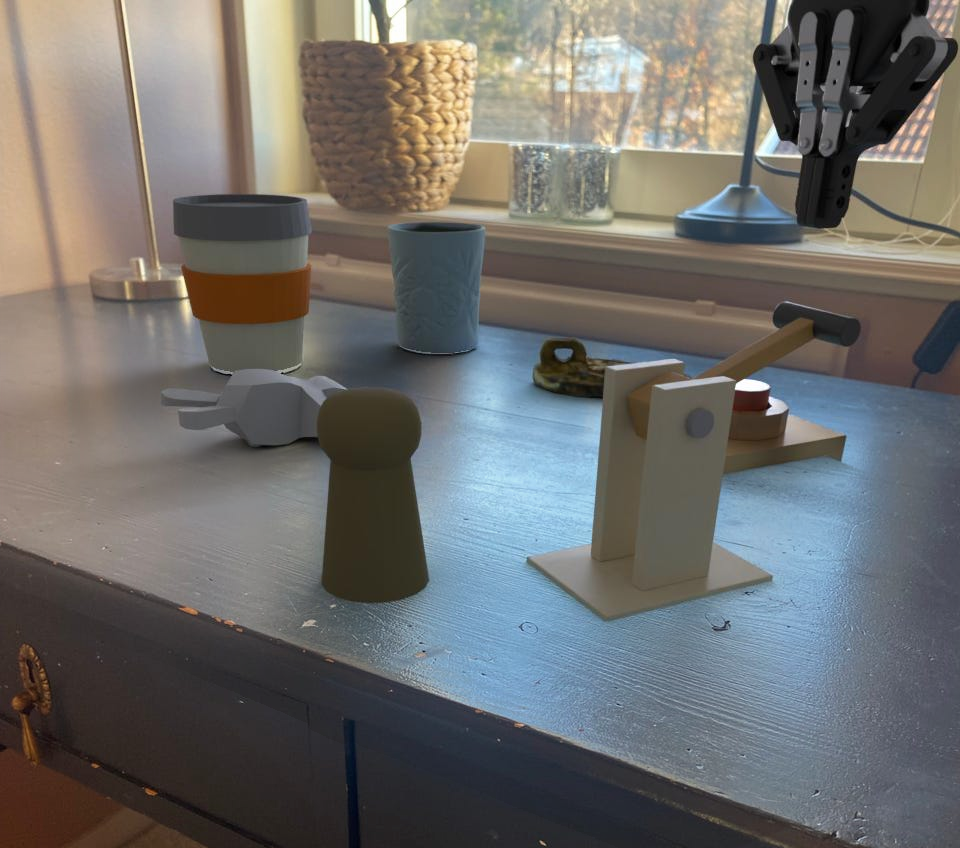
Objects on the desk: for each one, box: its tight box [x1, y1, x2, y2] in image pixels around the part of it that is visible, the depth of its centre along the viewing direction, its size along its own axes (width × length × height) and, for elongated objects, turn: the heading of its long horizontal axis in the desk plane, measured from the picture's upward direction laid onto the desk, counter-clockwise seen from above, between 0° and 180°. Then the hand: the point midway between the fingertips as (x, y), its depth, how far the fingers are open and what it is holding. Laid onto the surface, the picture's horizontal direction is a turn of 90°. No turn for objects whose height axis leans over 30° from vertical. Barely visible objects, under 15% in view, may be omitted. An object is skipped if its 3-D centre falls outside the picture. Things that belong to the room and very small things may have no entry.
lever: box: [627, 300, 862, 440], centre depth 50 cm, size 12×5×2 cm, turn 118°
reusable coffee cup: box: [172, 193, 313, 372], centre depth 93 cm, size 13×12×15 cm
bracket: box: [525, 358, 774, 623], centre depth 51 cm, size 11×8×12 cm
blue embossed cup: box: [387, 221, 487, 353], centre depth 102 cm, size 10×10×12 cm
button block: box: [723, 396, 847, 475], centre depth 73 cm, size 12×10×4 cm
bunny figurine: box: [160, 369, 348, 448], centre depth 75 cm, size 10×5×15 cm
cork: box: [317, 386, 430, 604], centre depth 50 cm, size 6×6×11 cm
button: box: [732, 378, 772, 412], centre depth 72 cm, size 4×4×2 cm
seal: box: [532, 336, 693, 398], centre depth 90 cm, size 9×5×15 cm
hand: (817, 226), depth 57 cm, fingers closed
